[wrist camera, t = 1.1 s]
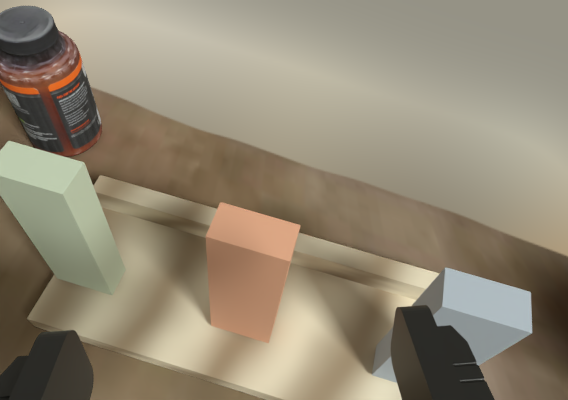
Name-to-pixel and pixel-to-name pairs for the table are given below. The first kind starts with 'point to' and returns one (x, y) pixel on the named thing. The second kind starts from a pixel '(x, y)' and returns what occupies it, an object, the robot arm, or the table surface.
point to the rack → (221, 343)
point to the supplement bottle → (47, 82)
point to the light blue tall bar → (469, 316)
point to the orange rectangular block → (247, 269)
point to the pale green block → (61, 215)
